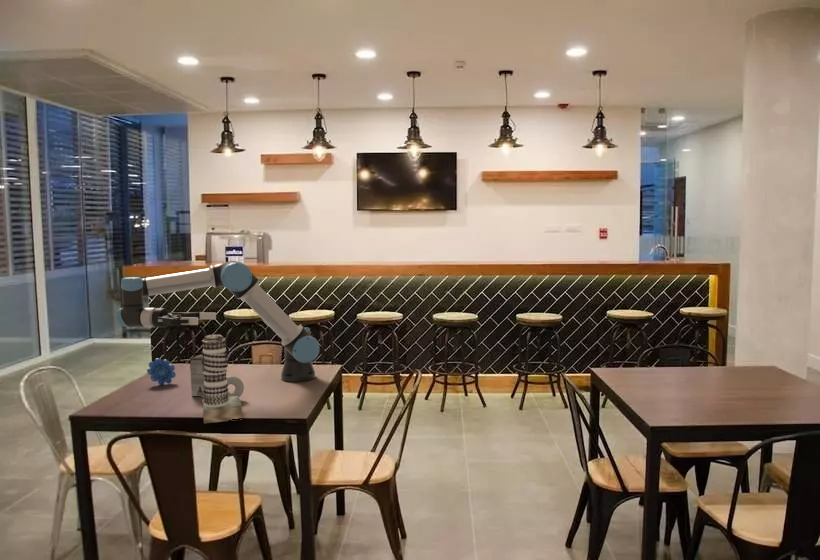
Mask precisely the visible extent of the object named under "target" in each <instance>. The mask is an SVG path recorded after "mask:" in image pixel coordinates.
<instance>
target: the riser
mask: <svg viewBox="0 0 820 560" xmlns="http://www.w3.org/2000/svg"><path fill="white" fill-rule="evenodd" d="M228 398H229V399H228V402H229V403H228V404H227V405H225V406H222V407H206V406H204V404H205V402H204V399H205V398H204V399H202V414H203V424H211V423H212V424H213V423H221V422H229V420H231V421H233V420H232V419H238V418H242V419H243V406H242V402H241V399H240V397H239V396H232V397H228Z"/></svg>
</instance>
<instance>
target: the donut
mask: <svg viewBox="0 0 820 560" xmlns="http://www.w3.org/2000/svg"><path fill="white" fill-rule="evenodd" d="M226 379H227V384H228V386H230V385H233V386H234V387H235V389H234V390H233V391H229V390H228V391H227V392H228V394H229V395H228V397H232V396H239V398H240V397H241V396H243V393H244V389H245V386H244V382H243V380H242V379H241V378H239V377H237V376H236V375H228V376H227V375H226Z"/></svg>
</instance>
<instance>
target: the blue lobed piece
mask: <svg viewBox="0 0 820 560" xmlns="http://www.w3.org/2000/svg"><path fill="white" fill-rule="evenodd" d="M148 367H149V368H148V369H146V374H147V375H149V376H150V380H151V381H152V382H157V384H158V385H161V386H163V385H164V384H165V383H166V384H171V383H172V382H173V380H172V379H174V378H175V377H176V372H175V369H176V368H175V365H173V364H171V363H170V361H169V360H168V359H166V358H164V359H161V358H159V357H157V358H155V359H154V361H150V362H149V363H148Z"/></svg>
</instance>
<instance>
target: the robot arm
mask: <svg viewBox="0 0 820 560" xmlns="http://www.w3.org/2000/svg"><path fill="white" fill-rule="evenodd" d="M208 287H213V289H217V288H226V289H227V291H228V290H229V292H230V293H232V295H233V296H234V297H235V298H236V299H237V300H243V301H244V302H245V303H246V304H247V305H248V306H249V307H250V308H251V309H252V310H253V311H254V312H255V314H256V315H258V316H259V317H260V319H262V321H263V322H265V324H266V325H267V326H268V327H269V328H270V329H271V330H272V331H273V332H274V333H275V334H276V335H277V336H278V337H279V338H280V339H281V345H282V346H283V348H284V349H283V350H284V364H283V367H282V370H281V375H280V376H281V378H280V379H281V380H282V381H284V382H291V383H292V382H293V383H294V382H295V383H296V382H297V383H299V382H301V383H302V382H306V381H307V380H308V381H310V380H311V381H312V380H313V379H315V378H316V372H315V368H314V366H313V363H312V361H314V360H315V359H316V358H317V357H318V356H319V353H320V350H321V349H320V343H319V341H318V339H317V338H315V337H314V336H312V334H311V328H309V327H304V326H303V325H297V324H296V323H295V322H294V321H293V319H291V317H289V316H288V314H287V313H285V312H284V310H283V309H282V308H281V307H280V306H279V305H278V304H277V303H276V302H275V300H273V299H272V297H270V295H268V294H267V293H266V291H265V290H264V289H263V288H262V287H261V286H260V280H259V279H258V277H257V276H256V275H255V274H254V273H253V272H252V271H251V269H250V267H248V265H246V264H245V263H243V262H241V261H236V260H229V261H228V260H227V261H225V262H222V263H217V264H214V265H213V264H212V265H210V266H209V267H208V268H202V269H195V270H190V271H183V272H176V273H170V274H169V273H168V274H163V275H157V276H151V277H145V278H144V277H143V278H142V277H140V276H131V277H130V276H128V277H127V276H126V277H122V278H121V285H120V288H121V299H122V305H121V307H120V308H118V309H117V310H116V315H115V320H116V323H117V325H119V326H120V327H125V328H127V327H128V328H148V329H149V330H150V329H152V328H162V329H163V328H167V327H168V326H173V327H175V326H176V327H177V328H180V327H181V325H182V326H188V325H189V326H198V325H199V320H212V321H213V320H214V321H215V320H217V312H212V311H211V312H208V311H207V312H205V311H202V310H199V311H189V312H187V311H186V312H185V311H184V312H180V311H178V312H175V311H173V312H170V311H169V310H168V309H167V308H166V307H165V308H164V307H157V308H156V307H144V297H151V296H155V295H156V296H157V295H163V294H168V293H175V292H182V291H188V290H194V289H195V290H196V289H199V288H208ZM308 381H307V382H308Z"/></svg>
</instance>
